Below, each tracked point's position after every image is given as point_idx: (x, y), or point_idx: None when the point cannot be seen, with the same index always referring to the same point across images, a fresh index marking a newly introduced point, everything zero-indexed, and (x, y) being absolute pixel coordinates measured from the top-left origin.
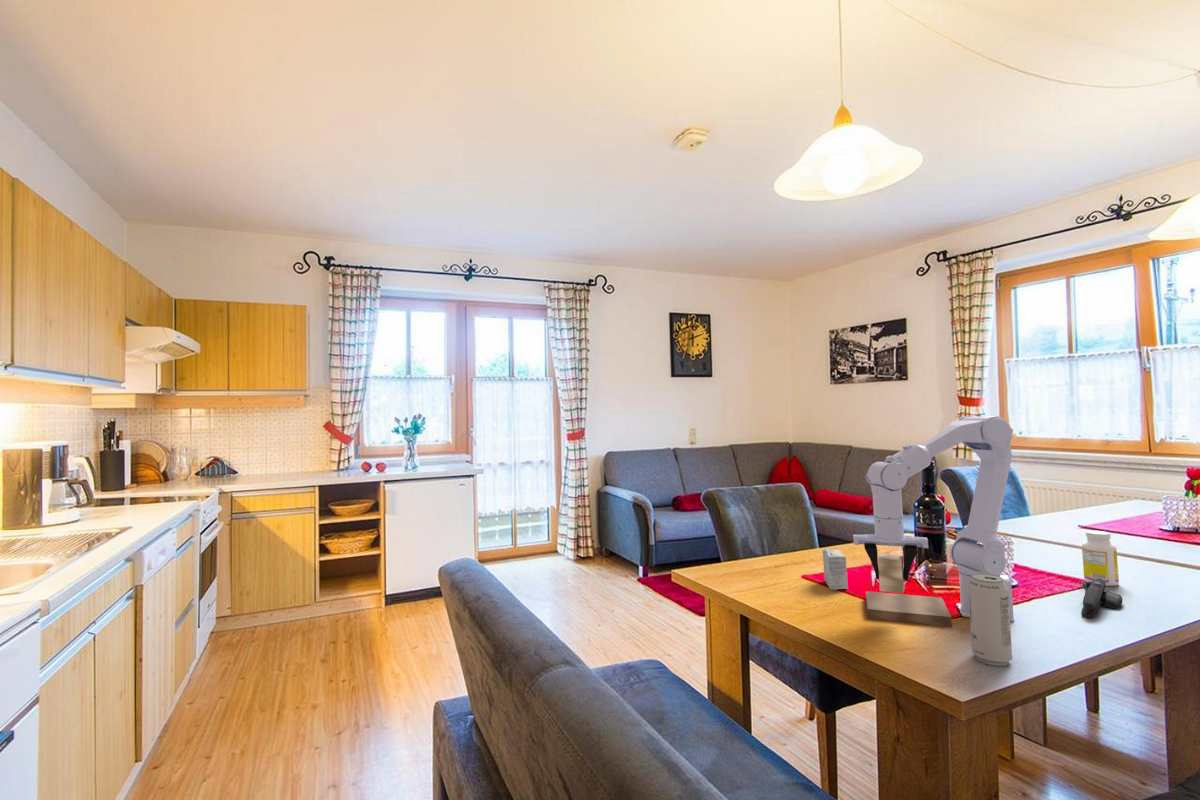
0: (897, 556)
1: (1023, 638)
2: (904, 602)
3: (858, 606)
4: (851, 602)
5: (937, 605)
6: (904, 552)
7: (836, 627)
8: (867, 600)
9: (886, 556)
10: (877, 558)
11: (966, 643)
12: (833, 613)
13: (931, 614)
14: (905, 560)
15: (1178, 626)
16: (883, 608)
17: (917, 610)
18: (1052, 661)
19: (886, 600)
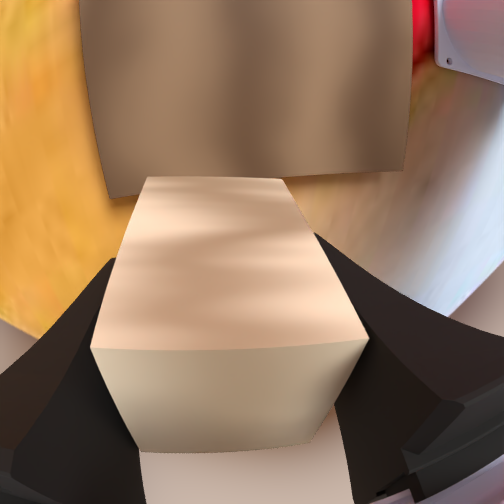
0: (302, 383)
1: (493, 190)
2: (257, 38)
3: (65, 64)
4: (38, 32)
5: (386, 47)
6: (359, 474)
7: (67, 297)
8: (90, 82)
9: (189, 411)
10: (138, 453)
11: (381, 267)
12: (15, 192)
13: (348, 166)
14: (341, 424)
15: None
16: (166, 163)
17: (304, 135)
18: (473, 282)
19: (173, 40)
